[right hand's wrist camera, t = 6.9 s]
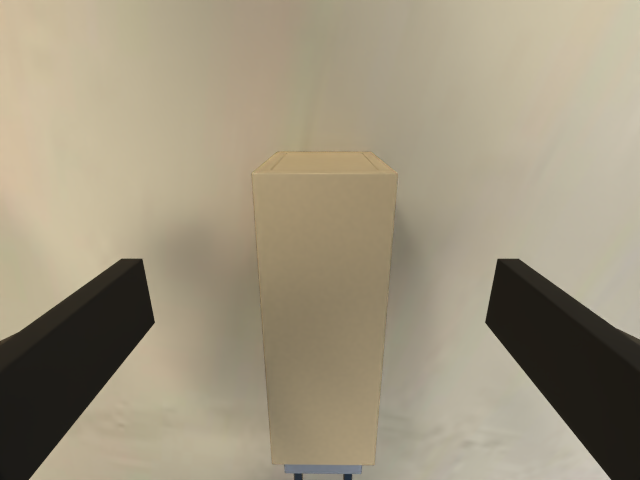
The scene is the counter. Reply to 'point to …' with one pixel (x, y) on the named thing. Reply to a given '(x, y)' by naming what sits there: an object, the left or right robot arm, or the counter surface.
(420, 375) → the counter surface
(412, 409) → the counter surface
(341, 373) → the cabinet
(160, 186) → the counter surface
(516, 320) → the right robot arm
